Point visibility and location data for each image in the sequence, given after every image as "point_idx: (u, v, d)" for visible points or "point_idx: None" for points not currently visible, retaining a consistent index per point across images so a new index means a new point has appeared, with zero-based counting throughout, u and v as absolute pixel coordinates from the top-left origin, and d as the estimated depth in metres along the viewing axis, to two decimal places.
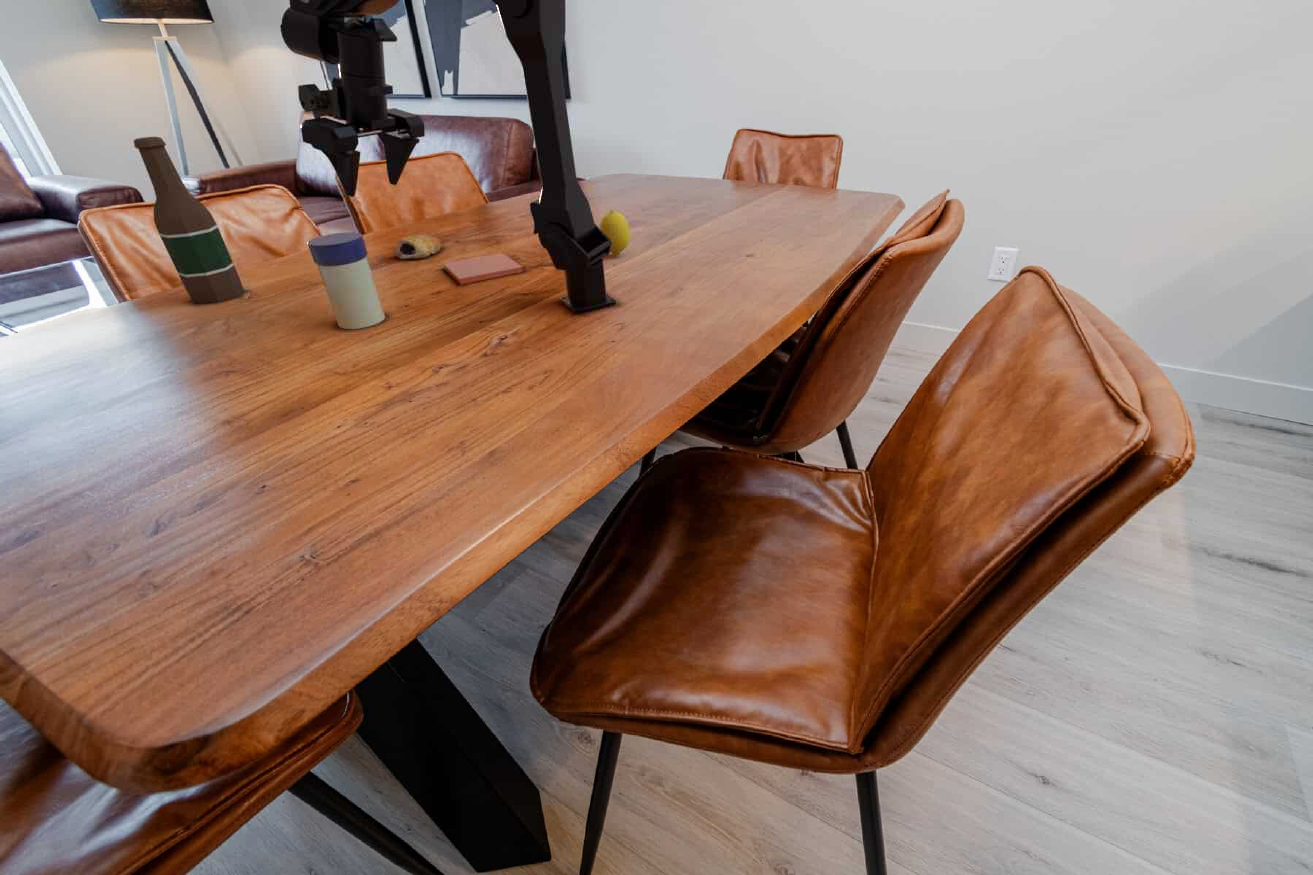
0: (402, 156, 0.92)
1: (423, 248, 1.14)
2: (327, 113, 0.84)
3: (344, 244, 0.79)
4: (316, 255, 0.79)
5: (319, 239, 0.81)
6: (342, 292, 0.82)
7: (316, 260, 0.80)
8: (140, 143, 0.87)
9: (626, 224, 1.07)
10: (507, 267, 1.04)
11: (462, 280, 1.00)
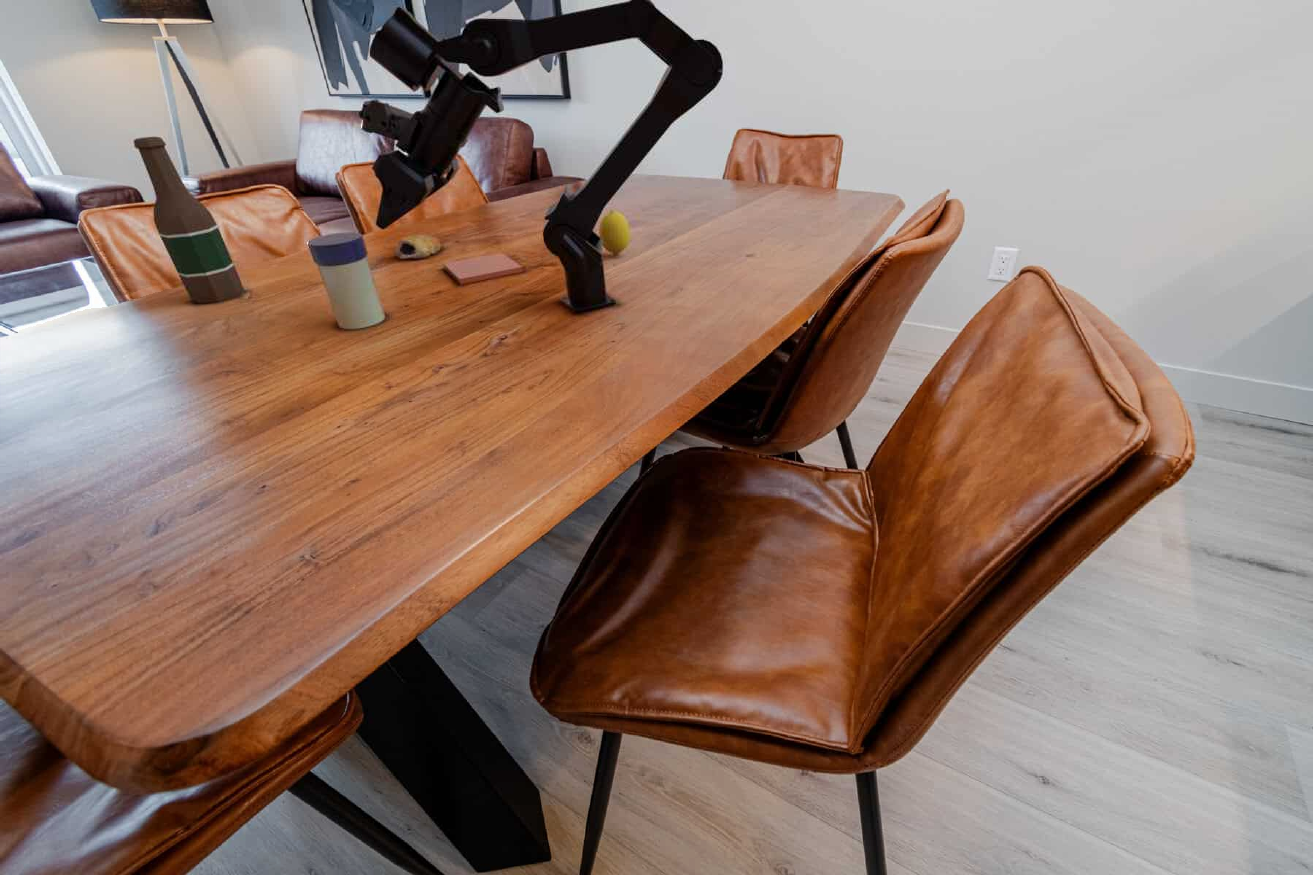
0: (428, 193, 0.85)
1: (423, 248, 1.14)
2: (387, 136, 0.74)
3: (344, 244, 0.79)
4: (316, 255, 0.79)
5: (319, 239, 0.81)
6: (342, 292, 0.82)
7: (316, 260, 0.80)
8: (140, 143, 0.87)
9: (626, 224, 1.07)
10: (507, 267, 1.04)
11: (462, 280, 1.00)
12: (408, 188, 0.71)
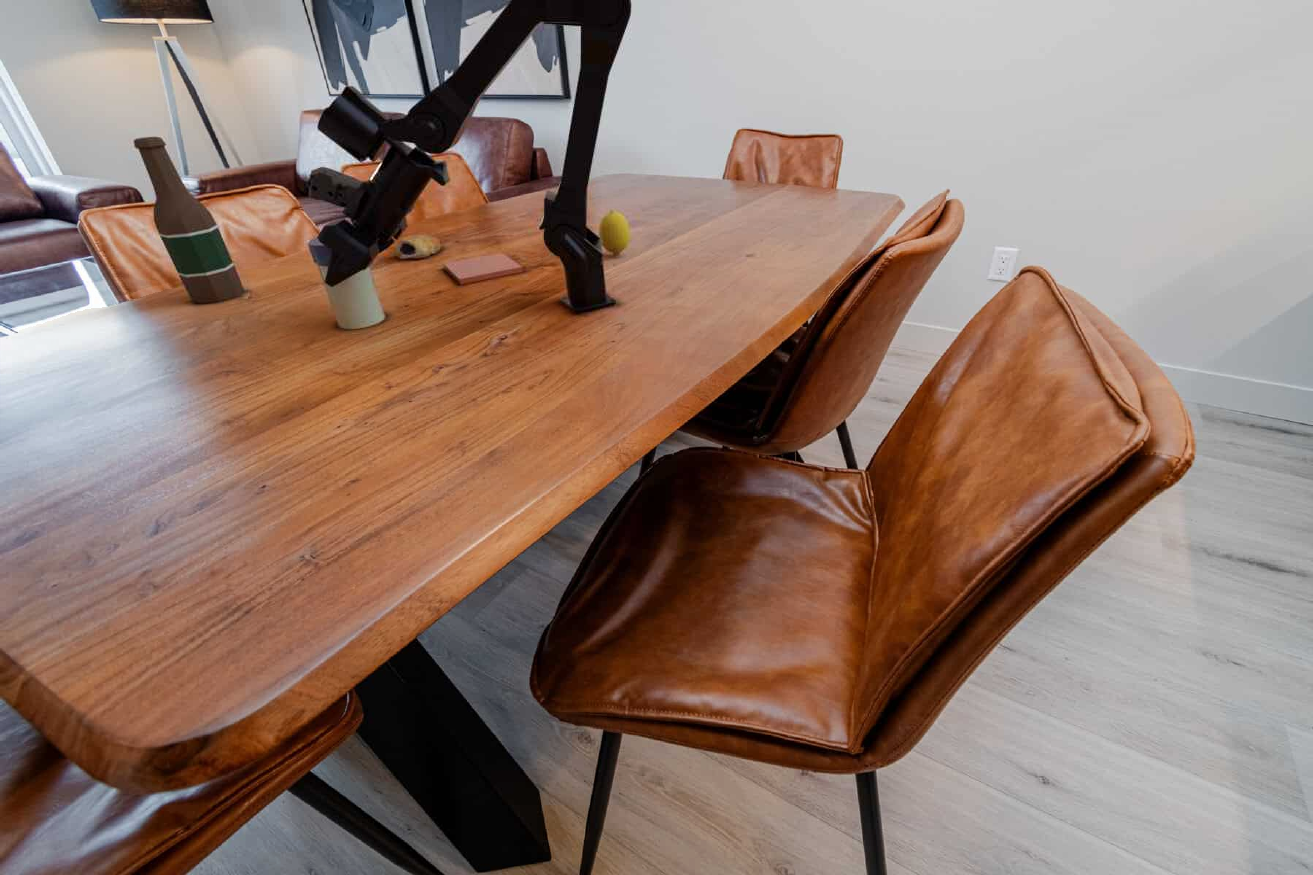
0: None
1: (423, 248, 1.14)
2: (334, 203, 0.77)
3: None
4: (316, 255, 0.79)
5: None
6: (342, 291, 0.82)
7: (316, 260, 0.80)
8: (140, 143, 0.87)
9: (626, 224, 1.07)
10: (507, 267, 1.04)
11: (462, 280, 1.00)
12: (352, 257, 0.74)
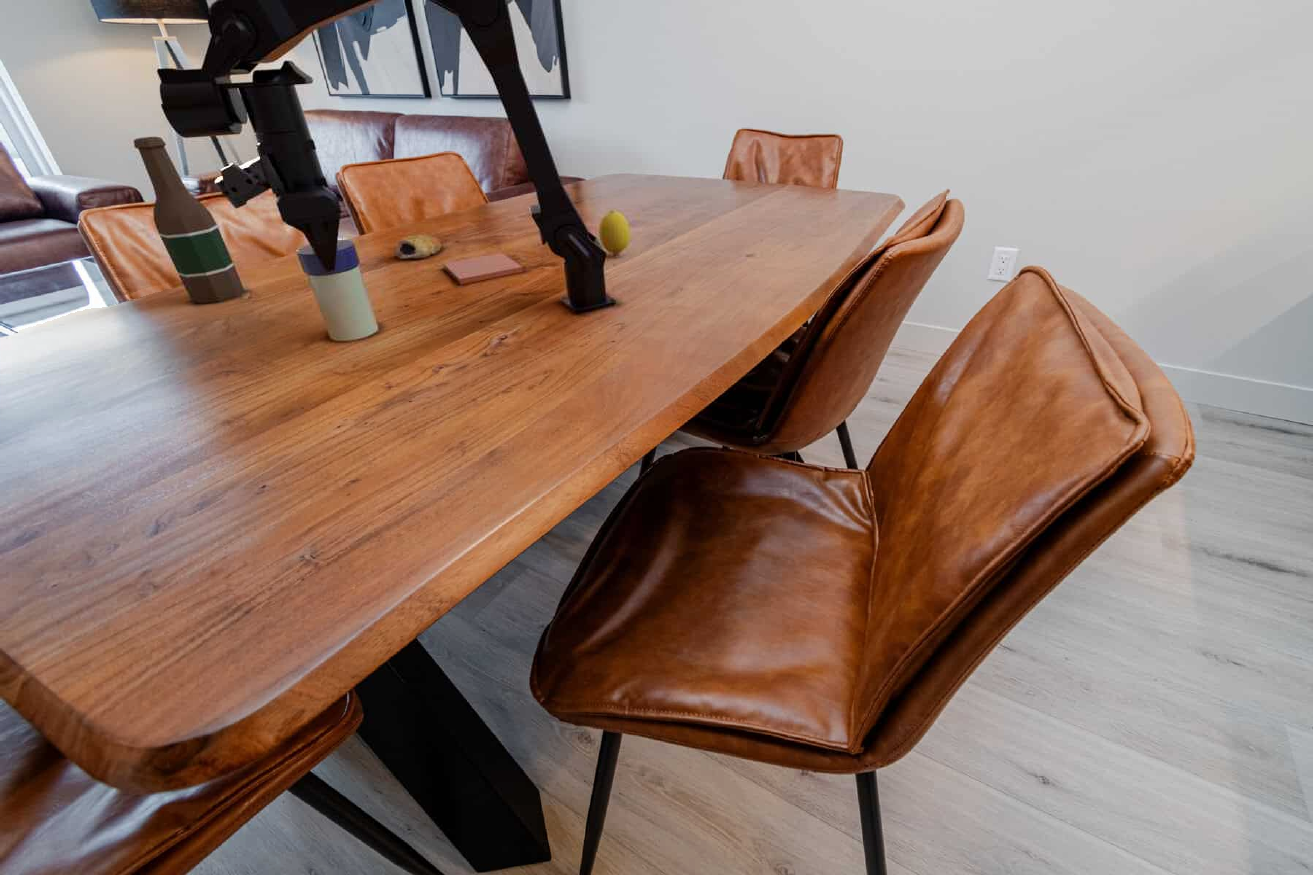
0: None
1: (423, 248, 1.14)
2: (259, 192, 0.70)
3: (338, 252, 0.76)
4: (308, 264, 0.76)
5: (308, 248, 0.77)
6: (337, 302, 0.78)
7: (308, 270, 0.76)
8: (140, 143, 0.87)
9: (626, 224, 1.07)
10: (507, 267, 1.04)
11: (462, 280, 1.00)
12: (323, 208, 0.68)
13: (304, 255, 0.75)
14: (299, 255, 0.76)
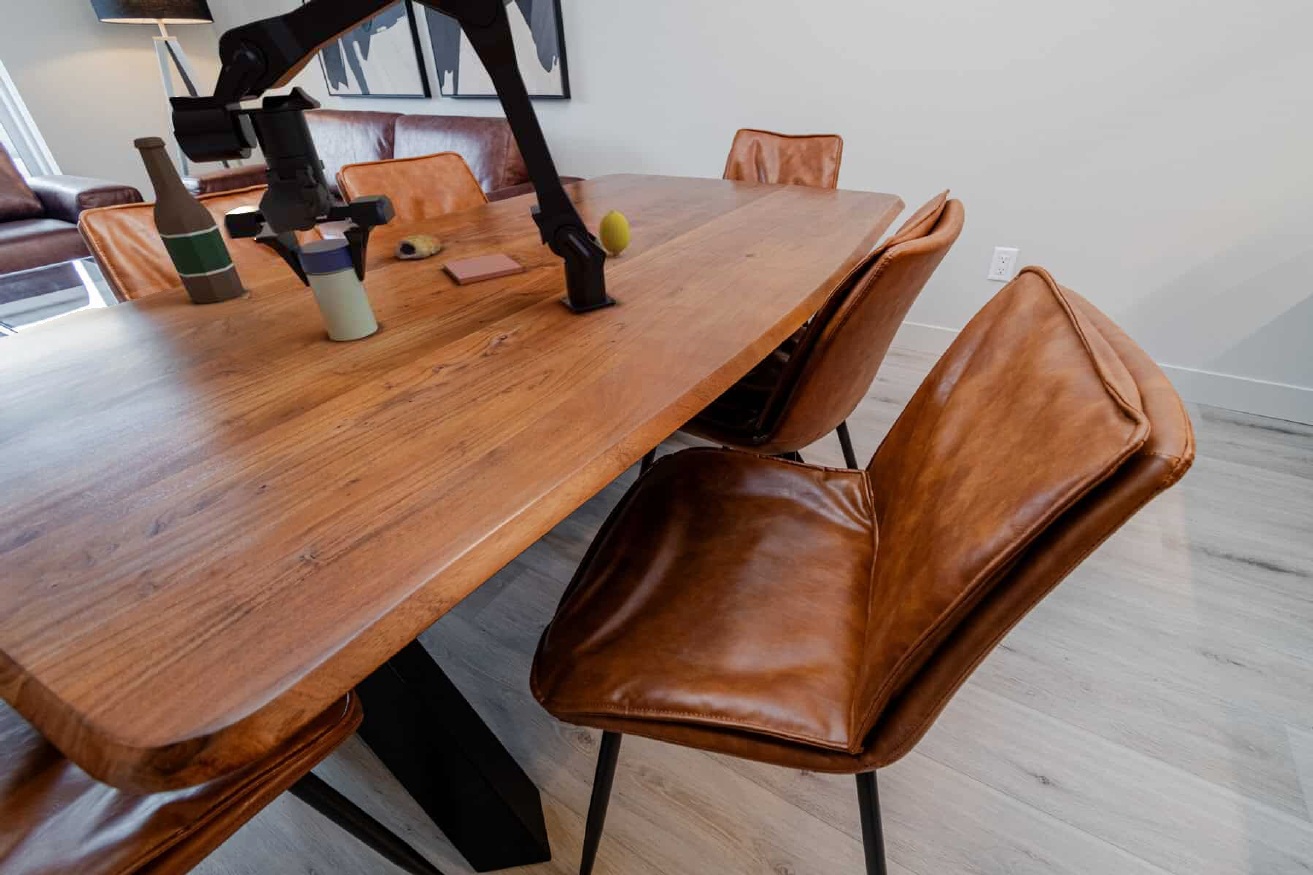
0: None
1: (423, 248, 1.14)
2: None
3: None
4: (336, 259, 0.76)
5: (310, 250, 0.76)
6: (336, 302, 0.78)
7: (335, 266, 0.76)
8: (140, 143, 0.87)
9: (626, 224, 1.07)
10: (507, 267, 1.04)
11: (462, 280, 1.00)
12: (391, 210, 0.78)
13: (332, 251, 0.75)
14: (323, 253, 0.75)
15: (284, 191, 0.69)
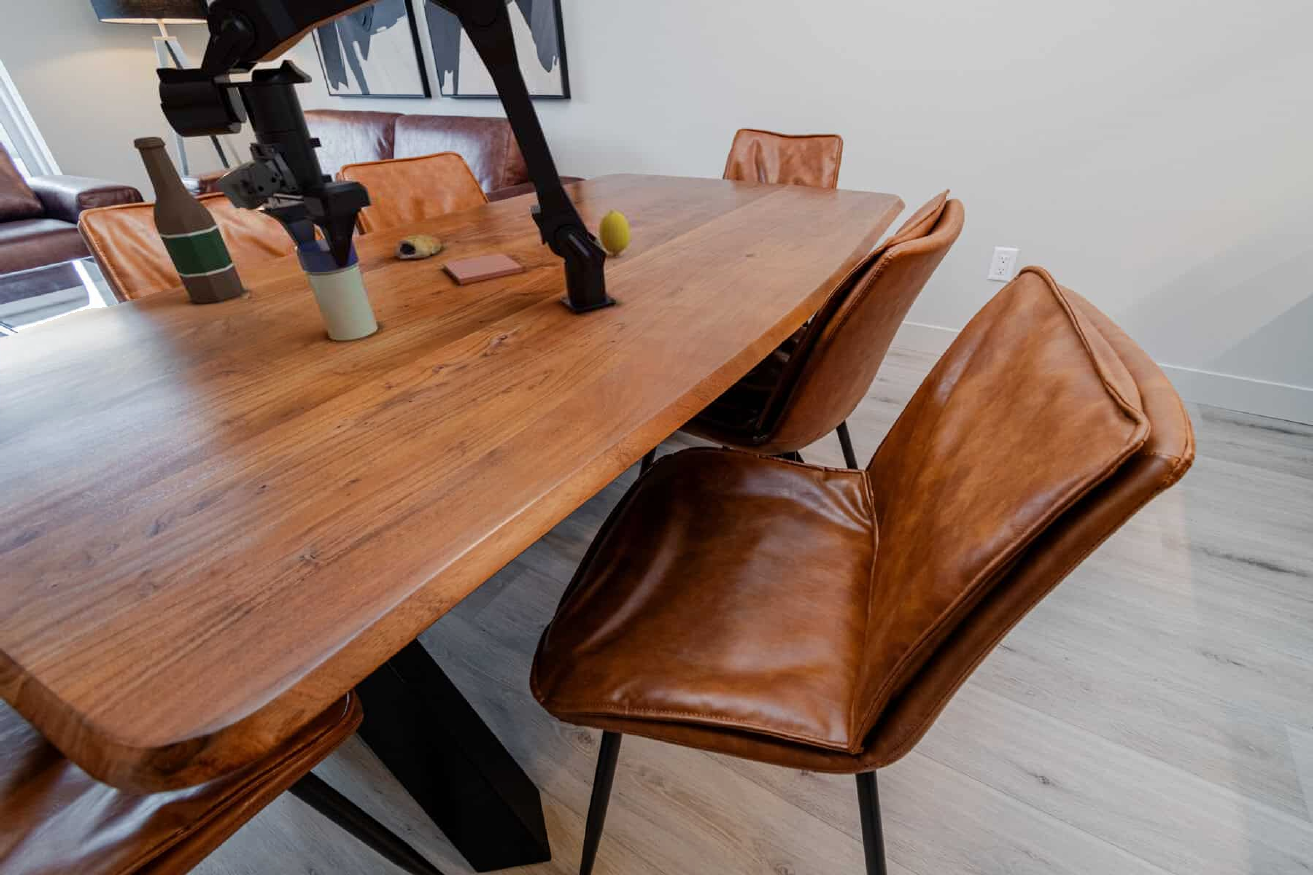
0: (310, 222, 0.79)
1: (423, 248, 1.14)
2: (274, 192, 0.69)
3: None
4: None
5: (319, 249, 0.76)
6: (336, 302, 0.79)
7: None
8: (140, 143, 0.87)
9: (626, 224, 1.07)
10: (507, 267, 1.04)
11: (462, 280, 1.00)
12: (359, 200, 0.71)
13: None
14: None
15: (247, 167, 0.68)
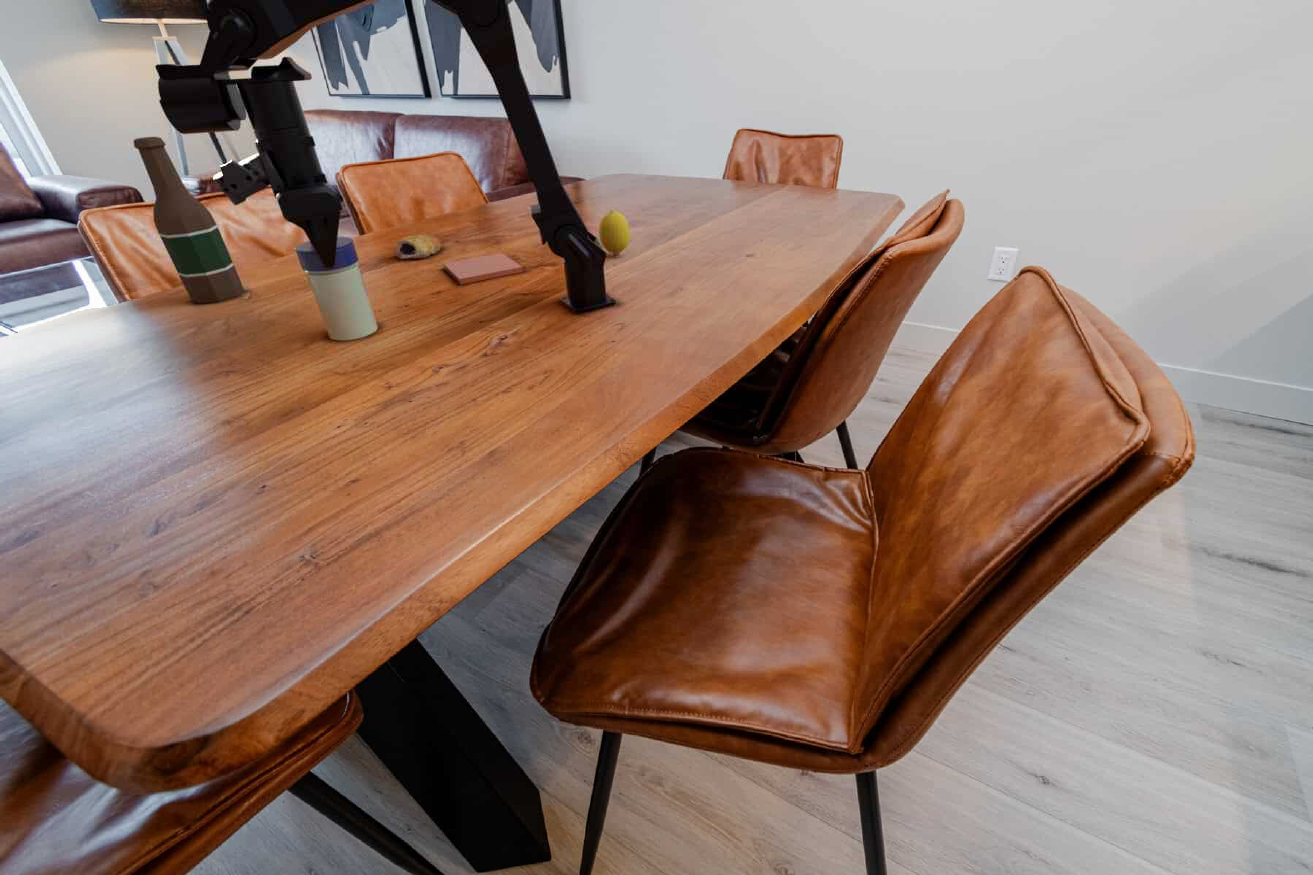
0: None
1: (423, 248, 1.14)
2: (258, 189, 0.70)
3: None
4: (355, 249, 0.79)
5: None
6: (336, 302, 0.79)
7: (357, 256, 0.79)
8: (140, 143, 0.87)
9: (626, 224, 1.07)
10: (507, 267, 1.04)
11: (462, 280, 1.00)
12: (324, 205, 0.68)
13: (352, 241, 0.79)
14: (350, 244, 0.78)
15: (242, 163, 0.70)
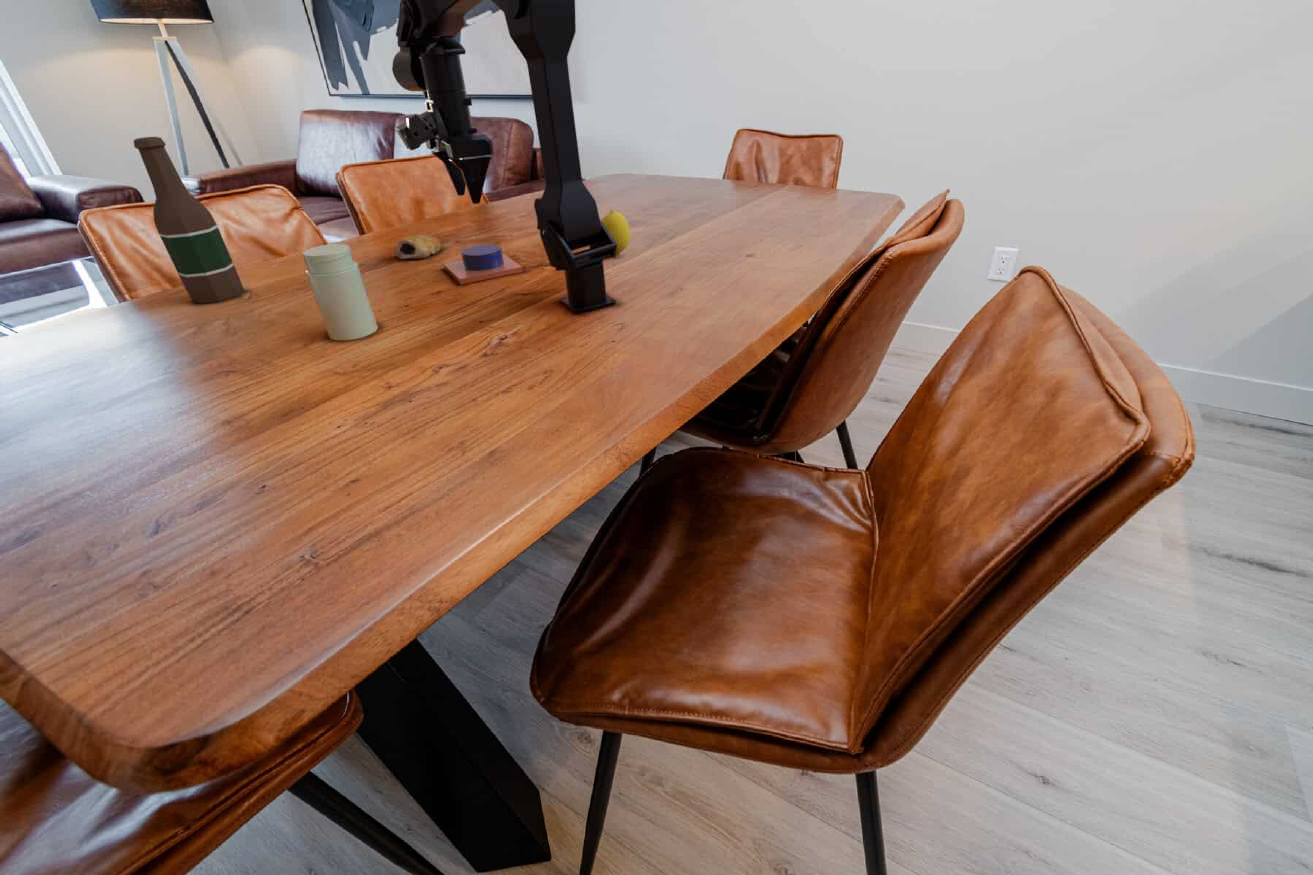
0: None
1: (423, 248, 1.14)
2: (429, 138, 0.91)
3: None
4: None
5: (488, 251, 1.03)
6: (336, 301, 0.79)
7: None
8: (140, 143, 0.87)
9: (626, 224, 1.07)
10: (507, 267, 1.04)
11: (462, 280, 1.00)
12: (482, 149, 0.89)
13: (500, 248, 1.05)
14: (500, 250, 1.04)
15: None
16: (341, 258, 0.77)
